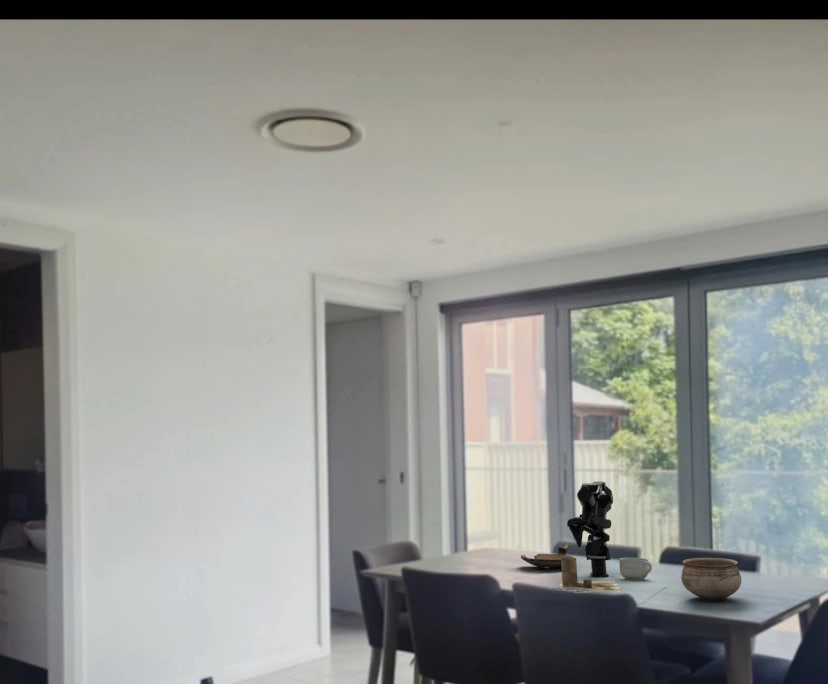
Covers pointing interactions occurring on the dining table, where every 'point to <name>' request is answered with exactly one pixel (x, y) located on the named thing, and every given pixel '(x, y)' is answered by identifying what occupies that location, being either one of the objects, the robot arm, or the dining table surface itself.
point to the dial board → (595, 589)
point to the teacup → (634, 568)
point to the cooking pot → (711, 577)
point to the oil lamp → (548, 558)
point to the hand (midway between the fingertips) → (587, 551)
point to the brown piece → (575, 575)
